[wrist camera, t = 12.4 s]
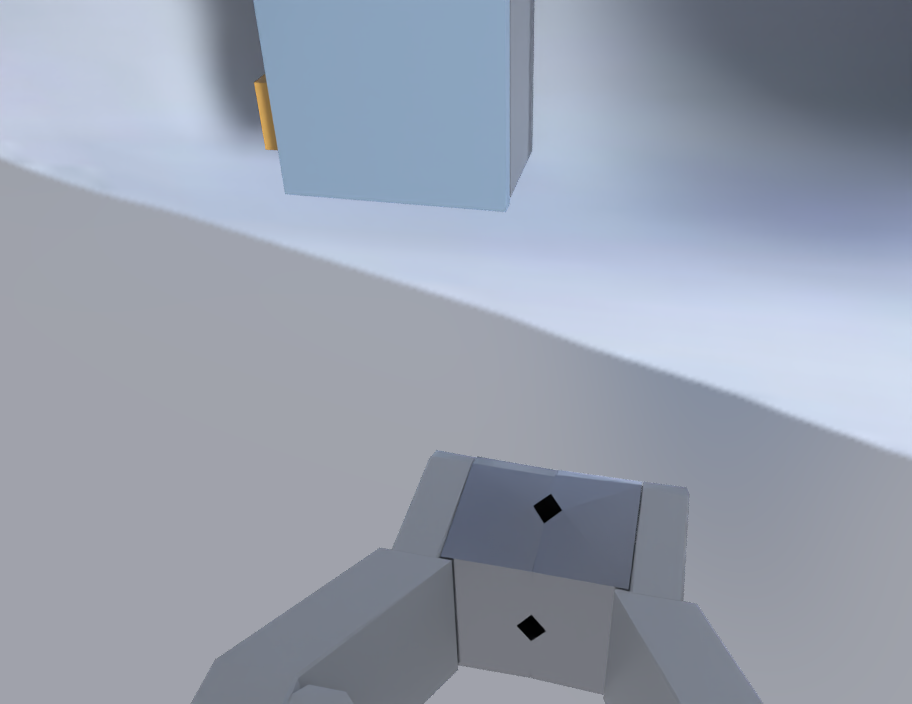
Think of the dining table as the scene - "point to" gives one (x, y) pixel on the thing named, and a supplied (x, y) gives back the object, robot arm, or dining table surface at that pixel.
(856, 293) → the dining table surface
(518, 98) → the grey rectangular open box
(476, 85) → the cover
